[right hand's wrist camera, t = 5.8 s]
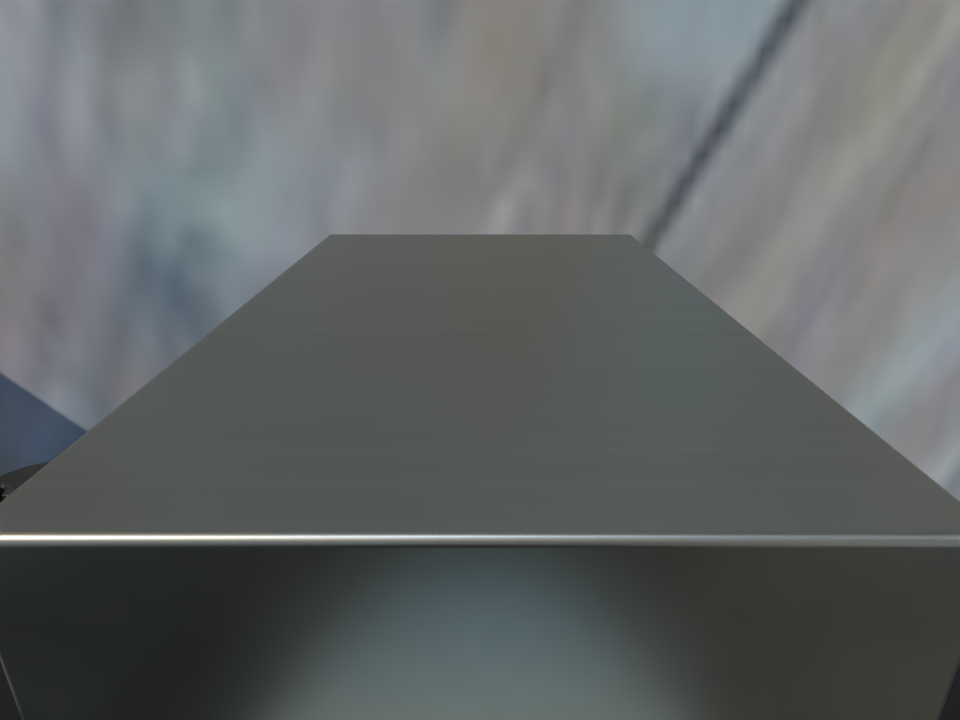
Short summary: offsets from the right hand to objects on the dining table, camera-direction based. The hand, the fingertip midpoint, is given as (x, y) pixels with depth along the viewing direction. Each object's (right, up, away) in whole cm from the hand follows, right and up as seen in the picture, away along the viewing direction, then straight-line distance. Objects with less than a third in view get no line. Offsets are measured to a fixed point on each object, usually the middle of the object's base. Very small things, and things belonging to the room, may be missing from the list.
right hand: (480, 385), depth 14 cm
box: (0, -6, +4) cm, 7 cm away
